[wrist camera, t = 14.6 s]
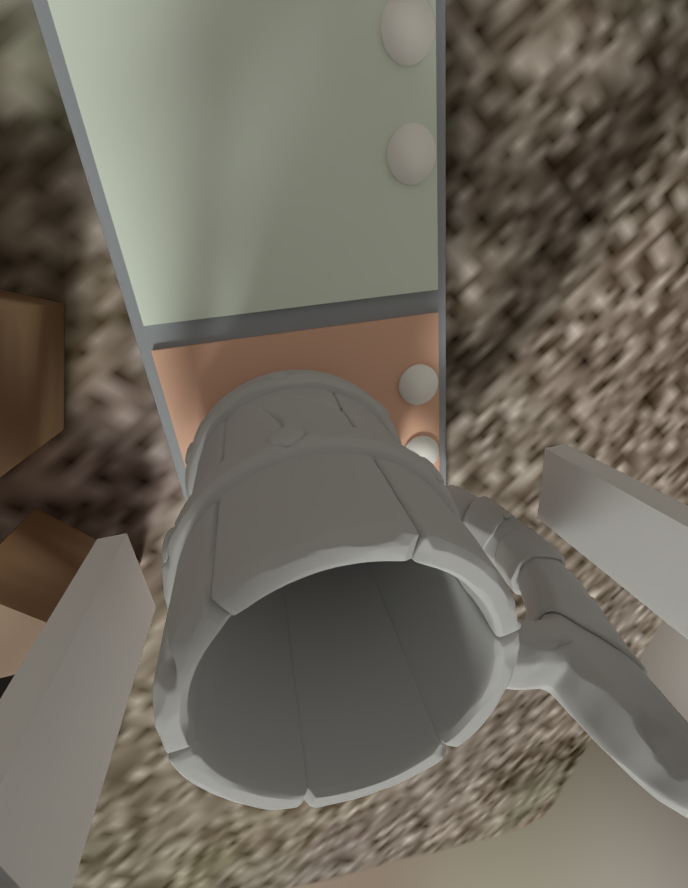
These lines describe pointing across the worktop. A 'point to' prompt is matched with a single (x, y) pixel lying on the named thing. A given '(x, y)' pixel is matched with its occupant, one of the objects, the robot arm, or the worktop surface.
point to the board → (269, 192)
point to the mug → (367, 612)
